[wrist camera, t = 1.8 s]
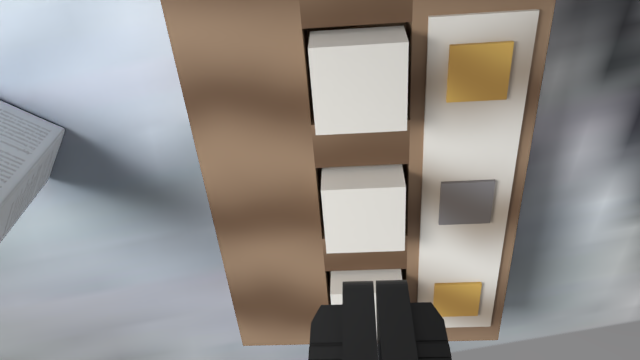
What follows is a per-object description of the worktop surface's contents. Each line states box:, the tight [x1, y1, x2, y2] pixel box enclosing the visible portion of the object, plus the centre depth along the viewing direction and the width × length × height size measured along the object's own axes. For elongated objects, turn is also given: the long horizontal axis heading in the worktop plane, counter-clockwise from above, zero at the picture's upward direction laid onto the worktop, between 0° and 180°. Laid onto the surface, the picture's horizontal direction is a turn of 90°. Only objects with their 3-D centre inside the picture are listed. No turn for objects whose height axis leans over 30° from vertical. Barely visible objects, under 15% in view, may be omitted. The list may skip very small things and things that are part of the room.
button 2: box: [308, 25, 409, 135], centre depth 23 cm, size 4×4×2 cm
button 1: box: [330, 269, 402, 331], centre depth 31 cm, size 4×4×2 cm
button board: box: [160, 0, 556, 346], centre depth 29 cm, size 22×16×4 cm
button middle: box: [321, 164, 406, 254], centre depth 27 cm, size 4×4×2 cm
